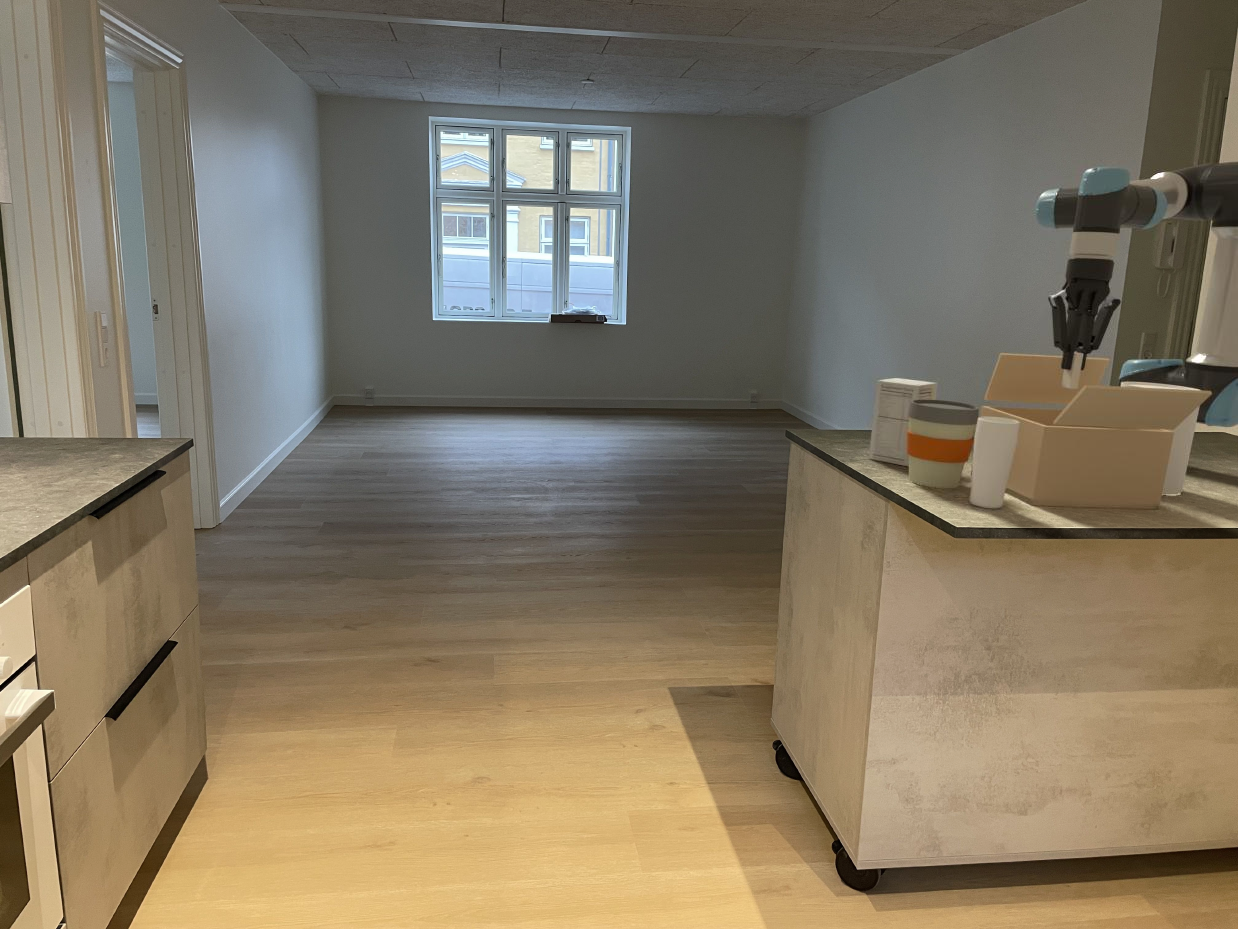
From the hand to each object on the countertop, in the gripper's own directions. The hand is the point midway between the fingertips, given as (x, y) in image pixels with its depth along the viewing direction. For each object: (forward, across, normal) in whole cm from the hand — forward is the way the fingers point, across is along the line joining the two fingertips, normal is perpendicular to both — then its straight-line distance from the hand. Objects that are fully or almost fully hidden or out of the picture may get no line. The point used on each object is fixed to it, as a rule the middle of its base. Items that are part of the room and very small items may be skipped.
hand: (1069, 387), depth 165 cm
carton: (+19, 0, +2) cm, 19 cm away
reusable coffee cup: (+20, +23, -2) cm, 30 cm away
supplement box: (+20, +22, -20) cm, 36 cm away
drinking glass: (+20, +21, +14) cm, 32 cm away
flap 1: (0, 0, -7) cm, 7 cm away
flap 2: (+1, 0, +18) cm, 18 cm away
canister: (+20, -21, -3) cm, 29 cm away
